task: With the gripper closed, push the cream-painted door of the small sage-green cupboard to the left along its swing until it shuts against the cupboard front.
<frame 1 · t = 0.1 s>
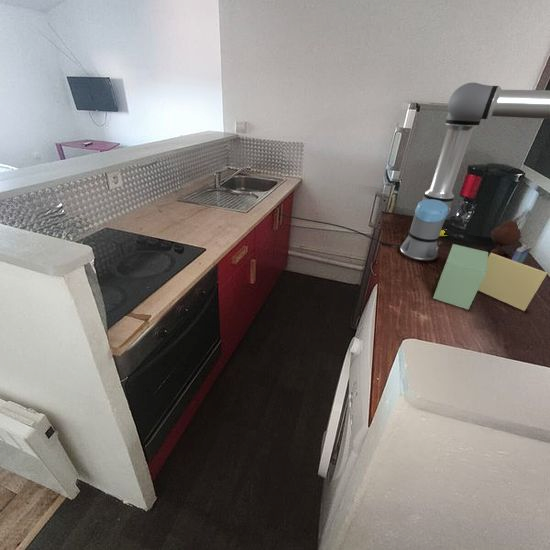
door: (510, 279, 101), point 8 cm above the countertop, hinge at 70.0°
cupboard: (453, 293, 106), on the countertop
ice cream bowl: (496, 253, 135), on the countertop
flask: (513, 267, 123), on the countertop
banana: (439, 236, 149), on the countertop
fruit slice: (479, 264, 125), on the countertop
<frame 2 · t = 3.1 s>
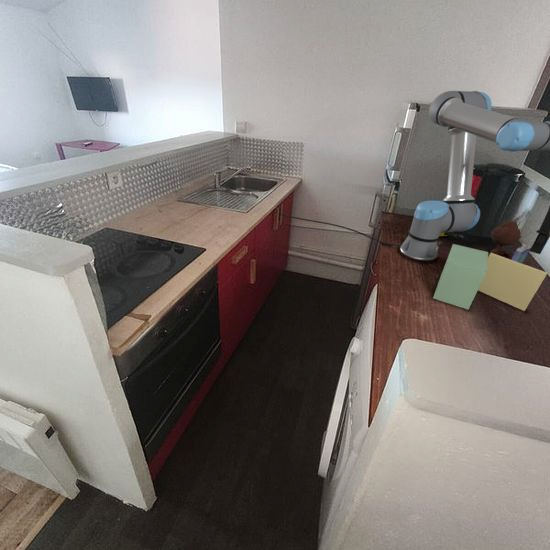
hand: (535, 252, 96), 18 cm above the countertop, tool pointing down, fingers closed
nothing on the countertop moved.
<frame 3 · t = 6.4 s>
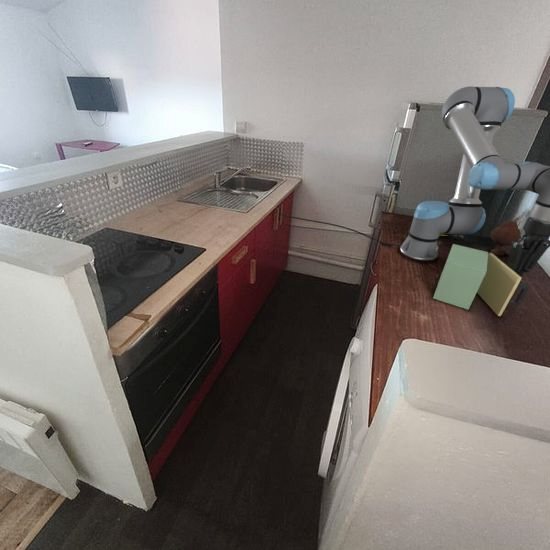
hand: (509, 286, 98), 7 cm above the countertop, tool pointing down, fingers closed
door: (502, 284, 98), point 8 cm above the countertop, hinge at 29.6°, touching hand
everything else where it was.
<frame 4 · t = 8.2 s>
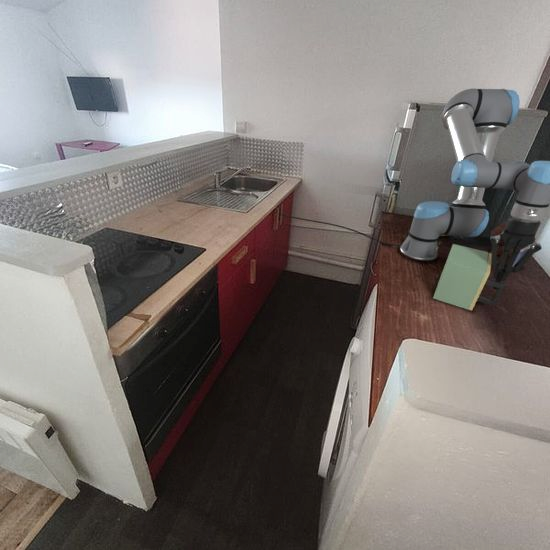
hand: (495, 287, 97), 7 cm above the countertop, tool pointing down, fingers closed
door: (489, 283, 98), point 8 cm above the countertop, hinge at -0.9°, touching cupboard, gripper, hand
everything else where it was.
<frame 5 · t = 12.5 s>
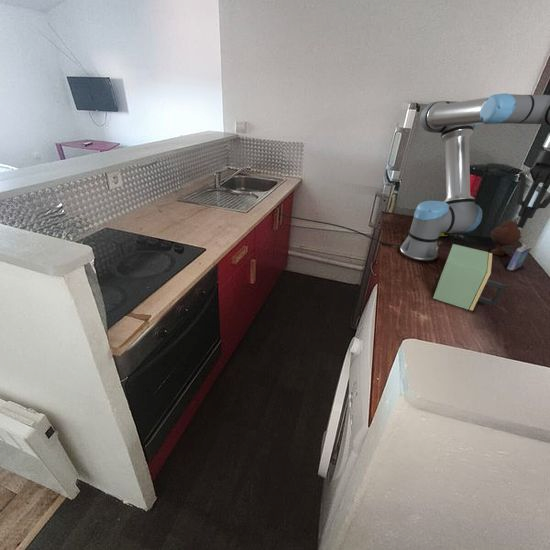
hand: (519, 226, 97), 24 cm above the countertop, tool pointing down, fingers closed
door: (489, 283, 98), point 8 cm above the countertop, hinge at -0.2°
everything else where it was.
at the end: door at +0° (first picture: +70°) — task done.
